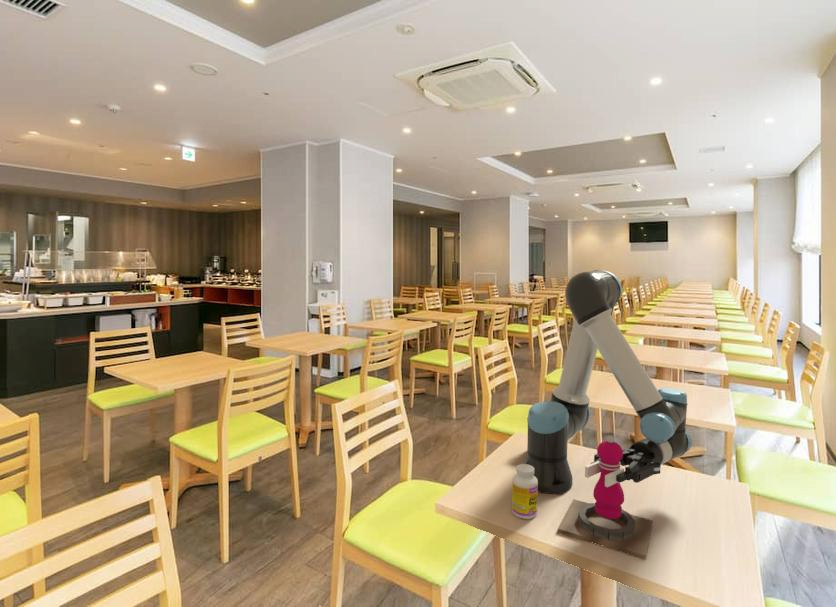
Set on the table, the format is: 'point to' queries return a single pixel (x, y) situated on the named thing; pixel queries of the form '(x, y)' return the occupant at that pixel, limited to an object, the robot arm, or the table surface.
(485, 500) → the table surface
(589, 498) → the table surface
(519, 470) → the supplement bottle
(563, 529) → the mill stand
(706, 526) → the table surface
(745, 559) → the table surface
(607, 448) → the pepper mill
